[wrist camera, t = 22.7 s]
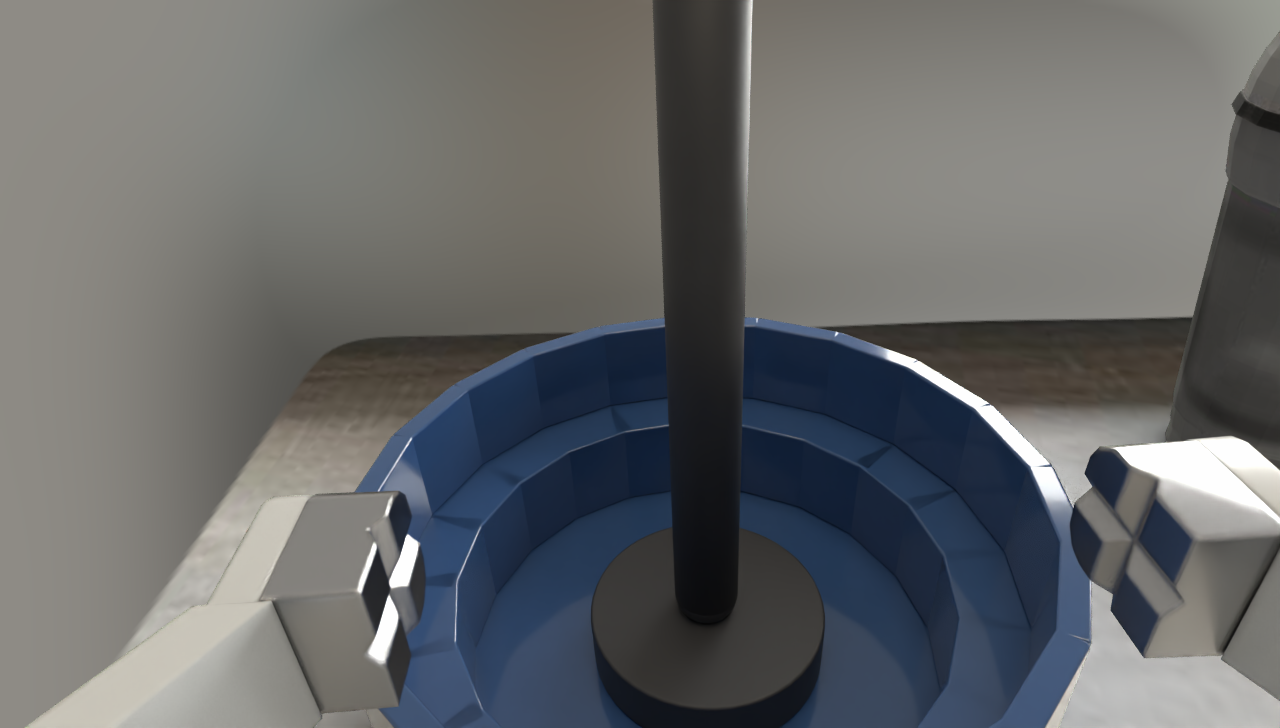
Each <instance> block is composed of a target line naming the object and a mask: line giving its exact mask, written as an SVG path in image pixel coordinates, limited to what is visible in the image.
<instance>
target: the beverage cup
mask: <svg viewBox="0 0 1280 728" xmlns="http://www.w3.org/2000/svg"><path fill="white" fill-rule="evenodd" d="M1232 107H1233V109H1234V111H1235V114H1236V117H1235V120H1234V123H1233V126H1232V130H1231V133H1230V140H1229V148H1228V157H1227V164H1226V173H1227V177H1228V182H1227V186H1226V190H1225V194H1224V198H1223V202H1222V206H1221V210H1220V214H1219V218H1218V222H1217V225H1216V229H1215V233H1214V237H1213V241H1212V245H1211V249H1210V252H1209V256H1208V261H1207V264H1206V268H1205V272H1204V276H1203V280H1202V284H1201V288H1200V291H1199V296H1198V300H1197V303H1196V307H1195V311H1194V315H1193V319H1192V323H1191V327H1190V330H1189V334H1188V338H1187V342H1186V346H1185V350H1184V354H1183V358H1182V362H1181V366H1180V369H1179V373H1178V377H1177V381H1176V385H1175V389H1174V393H1173V400H1174V401H1173V406H1172V411H1171V415H1170V416H1171V420H1170V423H1169V425H1168V428H1167V431H1166V440H1167V442H1173V441H1185V440H1188V439H1200V438H1212V437H1224V436H1233V437H1235V438H1238V439H1241V440H1243V441H1245V442H1248V443H1249V444H1250V445H1251V446H1252V447H1253V448H1254V449H1256V450H1257V451H1258V452H1259V453H1260V454H1261V455H1263V456H1264V457H1265V458H1266V459H1267V460H1268V461H1269V462H1271V463H1272V464H1273V465H1274V466H1275V467H1276V468H1277V469H1279V470H1280V32H1279V33H1278V34H1277V35H1276V37H1275V38H1274V39H1273V40H1272V42H1271V43H1270V44H1269V45H1268V47H1267V48H1266V49H1265V51H1264V52H1263V54H1262V55H1261V57H1260V59H1259V60H1258V62H1257V63H1256V65H1255V67H1254V68H1253V70H1252V72H1251V74H1250V77H1249V79H1248V81H1247V84H1246V86H1245V88H1244V89H1243V90H1242V91H1240V93H1239V94H1238V96H1237V97H1236V99H1235V100H1234V102H1233V103H1232Z"/></svg>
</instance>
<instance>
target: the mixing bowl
mask: <svg viewBox="0 0 1280 728" xmlns="http://www.w3.org/2000/svg"><path fill="white" fill-rule="evenodd" d="M378 491H400V492H402V493H403V494H405V495H406V498H407V501H408V504H409V507H410V510H411V513H412V519H411V523H410V526H409V529H408V533H407V534H408V535H409V536H411V537H412V538H413V539H415V540H416V541H417V542H418V543H420V546H421V549H422V553H423V557H424V563H425V572H426V587H425V603H424V607H423V611H422V616H421V620H420V623H419V624H418V625H417V626H416V627H415V628H414V629H413V630H412V631H411V632H410V633H409V634H408V635H407V636H406V638H407V641H408V644H409V648H410V651H411V654H412V656H411V660H410V664H409V668H408V672H407V676H406V680H405V684H404V688H403V692H402V695H401V699H400V703H399V707H388V708H377V709H367V710H366V712H367V715H368V718H369V720H370V723H371V725H372V728H643V727H642V726H640V725H638V724H637V723H636V722H634V721H633V720H632V719H631V718H629V717H628V716H627V715H626V714H625V713H624V712H623V711H622V710H621V709H620V708H619V707H618V706H617V705H616V704H615V702H614V701H613V700H612V698H611V697H610V695H609V694H608V692H607V691H606V689H605V687H604V685H603V683H602V681H601V678H600V675H599V672H598V669H597V664H596V658H595V651H594V643H593V635H592V627H591V605H592V598H593V595H594V592H595V589H596V586H597V584H598V582H599V580H600V578H601V576H602V574H603V572H604V571H605V570H606V568H607V567H608V565H609V564H610V563H611V562H612V561H613V560H614V559H615V557H616V556H617V555H618V554H620V553H621V552H622V551H623V550H624V549H626V548H627V547H628V546H630V545H631V544H633V543H634V542H636V541H637V540H639V539H641V538H643V537H645V536H647V535H649V534H652V533H655V532H657V531H660V530H663V529H667V528H670V527H672V503H671V476H670V449H669V423H668V396H667V369H666V343H665V318H659V319H651V320H644V321H636V322H628V323H620V324H612V325H605V326H600V327H595V328H591V329H588V330H585V331H581V332H578V333H575V334H571V335H568V336H564V337H561V338H558V339H554V340H551V341H548V342H544V343H541V344H538V345H534V346H531V347H528V348H525V349H524V350H520V351H518V352H516V353H514V354H512V355H510V356H508V357H506V358H504V359H502V360H500V361H498V362H496V363H494V364H492V365H490V366H489V367H487V368H485V369H483V370H481V371H479V372H477V373H475V374H473V375H471V376H469V377H467V378H465V379H463V380H461V381H459V382H457V383H455V384H454V385H453V386H451V387H450V388H448V389H447V390H446V391H445V392H444V393H442V394H441V395H440V396H439V397H438V398H436V399H435V400H434V401H433V402H432V403H430V404H429V405H428V406H427V407H426V408H424V409H423V410H422V411H421V412H420V413H418V414H417V415H416V416H415V417H414V418H412V419H411V420H410V421H409V422H408V423H406V424H405V425H404V426H403V427H402V428H400V429H399V430H398V431H397V432H396V433H395V434H394V436H391V438H390V439H389V441H388V442H387V444H386V445H385V447H384V448H383V450H382V451H381V453H380V454H379V456H378V457H377V459H376V460H375V462H374V463H373V465H372V466H371V468H370V469H369V471H368V472H367V474H366V475H365V477H364V478H363V480H362V481H361V483H360V484H359V486H358V487H357V489H356V491H355V492H378ZM1072 512H1073V507H1072V505H1071V503H1070V501H1069V499H1068V497H1067V495H1066V493H1065V491H1064V489H1063V487H1062V484H1061V482H1060V480H1059V478H1058V476H1057V474H1056V472H1055V470H1054V468H1053V467H1052V465H1051V464H1050V463H1049V462H1048V461H1047V460H1046V459H1045V458H1044V457H1043V456H1042V455H1041V454H1040V453H1039V452H1038V451H1037V450H1036V449H1035V448H1034V447H1033V446H1032V445H1031V444H1030V443H1029V442H1028V441H1027V440H1026V439H1025V438H1024V437H1023V436H1022V435H1021V434H1020V433H1019V432H1018V431H1017V430H1016V429H1015V428H1014V427H1013V426H1012V425H1011V424H1010V423H1009V422H1008V421H1007V420H1006V419H1005V418H1004V417H1003V416H1002V415H1001V414H1000V413H999V412H998V410H997V409H996V408H995V407H994V406H992V405H990V403H988V402H986V401H985V400H983V399H981V398H980V397H978V396H976V395H975V394H973V393H971V392H970V391H968V390H966V389H965V388H963V387H961V386H960V385H958V384H956V383H955V382H953V381H951V380H950V379H948V378H946V377H945V376H943V375H941V374H940V373H938V372H936V371H935V370H933V369H931V368H930V367H928V366H926V365H925V364H923V363H921V362H919V361H917V360H916V359H913V358H910V357H908V356H905V355H902V354H899V353H896V352H894V351H891V350H888V349H885V348H882V347H880V346H877V345H874V344H871V343H868V342H866V341H863V340H860V339H857V338H854V337H852V336H849V335H846V334H843V333H838V332H835V331H829V330H824V329H818V328H812V327H807V326H801V325H796V324H790V323H784V322H779V321H773V320H767V319H762V318H759V319H758V318H746V317H745V323H744V364H743V405H742V445H741V486H740V527H739V528H742V529H746V530H749V531H752V532H755V533H757V534H760V535H762V536H765V537H767V538H768V539H770V540H772V541H774V542H776V543H778V544H779V545H780V546H782V547H783V548H785V549H786V550H788V551H789V552H790V553H791V554H792V555H793V556H795V557H796V558H797V559H798V560H799V561H800V562H801V563H802V565H803V566H804V567H805V568H806V569H807V571H808V572H809V574H810V575H811V576H812V578H813V580H814V582H815V584H816V586H817V588H818V590H819V592H820V595H821V598H822V601H823V605H824V612H825V631H824V640H823V649H822V658H821V665H820V671H819V676H818V679H817V681H816V684H815V687H814V689H813V691H812V693H811V695H810V696H809V698H808V700H807V701H806V702H805V704H804V705H803V706H802V708H801V709H800V710H799V711H798V712H797V713H796V714H795V715H794V716H793V717H792V718H791V719H790V720H789V721H787V722H786V723H785V724H783V725H782V726H780V727H779V728H1059V727H1060V724H1061V722H1062V719H1063V717H1064V714H1065V711H1066V709H1067V706H1068V704H1069V701H1070V699H1071V696H1072V694H1073V691H1074V689H1075V686H1076V683H1077V681H1078V678H1079V676H1080V673H1081V671H1082V668H1083V666H1084V663H1085V661H1086V658H1087V655H1088V653H1089V650H1090V646H1091V644H1092V581H1090V580H1089V578H1088V577H1087V575H1086V574H1085V572H1084V571H1083V569H1082V568H1081V566H1080V565H1079V563H1078V561H1077V558H1076V556H1075V553H1074V551H1073V548H1072V545H1071V535H1070V526H1069V523H1070V519H1071V516H1072Z"/></svg>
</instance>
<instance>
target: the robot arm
mask: <svg viewBox="0 0 1280 728" xmlns="http://www.w3.org/2000/svg"><path fill="white" fill-rule="evenodd" d="M1085 475H1086V477H1087V478H1088V480H1089V482H1090V483H1091V485H1092V488H1091V489H1090V490H1089V491H1087V492H1086V493H1085V494H1084V495H1083V496H1082V497H1081V498H1079V499H1078V500H1077V501H1076V502H1075V504H1074V508H1073V512H1072V516H1071V519H1070V523H1069V526H1070V535H1071V545H1072V548H1073V551H1074V553H1075V556H1076V558H1077V561H1078V563H1079V565H1080V566H1081V568H1082V569H1083V571H1084V572H1085V574H1086V575H1087V577H1088V578H1089V580H1090V581H1092V582H1094V583H1095V584H1097V585H1099V586H1100V587H1102V588H1104V589H1105V590H1107V591H1109V592H1110V593H1112V594H1113V599H1112V605H1111V612H1112V613H1113V615H1114V616H1115V617H1116V619H1117V620H1118V622H1119V623H1120V625H1121V626H1122V627H1123V629H1124V630H1125V632H1126V633H1127V635H1128V636H1129V637H1130V639H1131V640H1132V642H1133V643H1134V645H1135V646H1136V647H1137V649H1138V650H1139V652H1140V653H1141V655H1142V656H1143V657H1144V658H1167V657H1194V656H1221V655H1223V656H1222V658H1221V660H1223V661H1224V662H1226V663H1227V664H1228V665H1230V666H1231V667H1233V668H1234V669H1235V670H1237V671H1238V672H1240V673H1241V674H1242V675H1244V676H1245V677H1247V678H1248V679H1249V680H1251V681H1252V682H1254V683H1255V684H1257V685H1258V686H1259V687H1261V688H1262V689H1264V690H1265V691H1266V692H1268V693H1269V694H1271V695H1272V696H1273V697H1275V698H1276V699H1278V700H1279V701H1280V470H1279V469H1277V468H1276V467H1275V466H1274V465H1273V464H1272V463H1271V462H1269V461H1268V460H1267V459H1266V458H1265V457H1264V456H1263V455H1261V454H1260V453H1259V452H1258V451H1257V450H1256V449H1254V448H1253V447H1252V446H1251V445H1250V444H1249V443H1248V442H1245V441H1243V440H1241V439H1238V438H1235V437H1233V436H1224V437H1212V438H1200V439H1188V440H1185V441H1173V442H1159V443H1144V444H1130V445H1116V446H1101V447H1099V448H1098V449H1097V450H1096V451H1095V452H1094V453H1093V454H1092V455H1091V457H1090V459H1089V462H1088V465H1087V468H1086V471H1085ZM411 519H412V513H411V510H410V507H409V504H408V501H407V498H406V495H405V494H403V493H402V492H400V491H378V492H353V493H329V494H315V495H297V496H274V497H272V498H270V499H269V500H267V501H266V502H264V503H263V504H262V505H261V507H260V509H259V511H258V512H257V514H256V516H255V518H254V520H253V521H252V523H251V525H250V527H249V529H248V530H247V532H246V534H245V536H244V538H243V539H242V541H241V543H240V545H239V546H238V548H237V550H236V552H235V554H234V555H233V557H232V559H231V561H230V563H229V564H228V566H227V568H226V570H225V572H224V573H223V575H222V577H221V579H220V581H219V582H218V584H217V586H216V588H215V590H214V591H213V593H212V595H211V597H210V599H209V600H208V602H207V604H206V605H201V606H192V607H190V608H189V609H187V610H186V611H185V612H183V613H182V614H181V615H179V616H178V617H176V618H175V619H174V620H172V621H171V622H170V623H168V624H167V625H165V626H164V627H163V628H161V629H160V630H158V631H157V632H156V633H154V634H153V635H152V636H150V637H149V638H147V639H146V640H145V641H143V642H142V643H141V644H139V645H138V646H136V647H135V648H134V649H132V650H131V651H129V652H128V653H127V654H125V655H124V656H123V657H121V658H120V659H118V660H117V661H116V662H114V663H113V664H112V665H110V666H109V667H107V668H106V669H105V670H103V671H102V672H100V673H99V674H98V675H96V676H95V677H94V678H92V679H91V680H90V681H88V682H87V683H85V684H84V685H83V686H81V687H80V688H78V689H77V690H76V691H75V692H73V693H71V694H70V695H69V696H68V697H66V698H65V699H63V700H62V701H60V702H59V703H58V704H56V705H55V706H54V707H52V708H51V709H49V710H48V711H47V712H45V713H44V714H42V715H41V716H40V717H38V718H37V719H36V720H34V721H33V722H31V723H30V724H29V725H27V726H26V727H25V728H314V727H315V726H316V725H317V724H318V723H319V721H320V720H321V719H322V715H321V714H324V713H334V712H345V711H356V710H367V709H377V708H388V707H399V703H400V699H401V695H402V692H403V688H404V684H405V680H406V676H407V672H408V668H409V664H410V660H411V656H412V654H411V651H410V648H409V644H408V641H407V638H406V636H407V635H408V634H409V633H410V632H411V631H412V630H413V629H414V628H415V627H416V626H417V625H418V624H419V623H420V620H421V616H422V611H423V607H424V603H425V587H426V572H425V563H424V557H423V553H422V549H421V546H420V543H418V542H417V541H416V540H415V539H413V538H412V537H411V536H409V535H408V534H407V533H408V529H409V526H410V523H411Z"/></svg>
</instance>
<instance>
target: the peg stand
mask: <svg viewBox="0 0 1280 728" xmlns="http://www.w3.org/2000/svg"><path fill="white" fill-rule="evenodd" d="M653 22H654V49H655V75H656V101H657V127H658V128H657V129H658V155H659V181H660V208H661V234H662V235H661V236H662V262H663V289H664V314H665V315H664V316H665V343H666V369H667V396H668V423H669V449H670V476H671V503H672V527H670V528H667V529H663V530H660V531H657V532H655V533H652V534H649V535H647V536H645V537H643V538H641V539H639V540H637V541H636V542H634V543H633V544H631V545H630V546H628V547H627V548H626V549H624V550H623V551H622V552H621V553H620V554H618V555H617V556H616V557H615V559H614V560H613V561H612V562H611V563H610V564H609V565H608V567H607V568H606V570H605V571H604V572H603V574H602V576H601V578H600V580H599V582H598V584H597V586H596V589H595V592H594V595H593V598H592V605H591V627H592V635H593V643H594V651H595V658H596V664H597V669H598V672H599V675H600V678H601V681H602V683H603V685H604V687H605V689H606V691H607V692H608V694H609V695H610V697H611V698H612V700H613V701H614V702H615V704H616V705H617V706H618V707H619V708H620V709H621V710H622V711H623V712H624V713H625V714H626V715H627V716H628V717H629V718H631V719H632V720H633V721H634V722H636V723H637V724H638V725H640V726H642V727H643V728H779V727H780V726H782V725H783V724H785V723H786V722H787V721H789V720H790V719H791V718H792V717H793V716H794V715H795V714H796V713H797V712H798V711H799V710H800V709H801V708H802V706H803V705H804V704H805V702H806V701H807V700H808V698H809V696H810V695H811V693H812V691H813V689H814V687H815V684H816V681H817V679H818V676H819V671H820V665H821V658H822V649H823V640H824V631H825V612H824V605H823V601H822V598H821V595H820V592H819V590H818V588H817V586H816V584H815V582H814V580H813V578H812V576H811V575H810V574H809V572H808V571H807V569H806V568H805V567H804V566H803V565H802V563H801V562H800V561H799V560H798V559H797V558H796V557H795V556H793V555H792V554H791V553H790V552H789V551H788V550H786V549H785V548H783V547H782V546H780V545H779V544H778V543H776V542H774V541H772V540H770V539H768V538H767V537H765V536H762V535H760V534H757V533H755V532H752V531H749V530H746V529H742V528H739V527H740V486H741V445H742V405H743V364H744V323H745V282H746V281H745V280H746V242H747V240H746V239H747V201H748V196H747V195H748V160H749V159H748V158H749V119H750V117H749V116H750V77H751V38H752V0H653Z"/></svg>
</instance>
